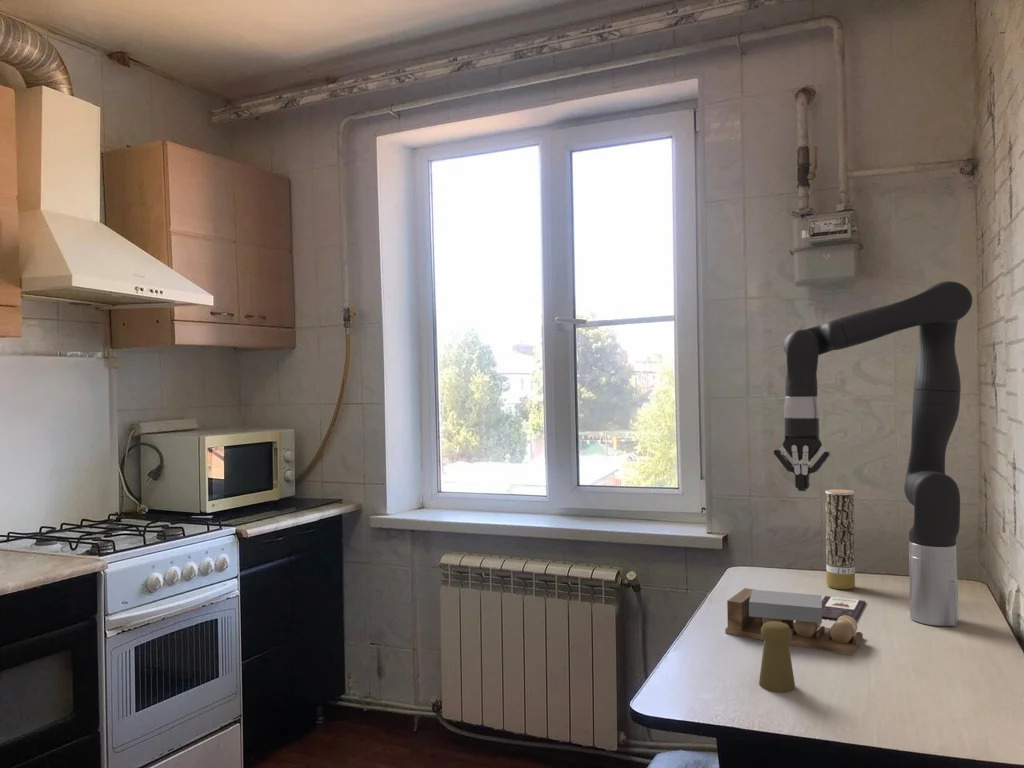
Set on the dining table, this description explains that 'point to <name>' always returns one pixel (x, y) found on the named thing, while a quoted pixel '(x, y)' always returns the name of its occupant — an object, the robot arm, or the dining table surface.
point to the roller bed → (755, 626)
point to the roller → (771, 620)
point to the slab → (786, 606)
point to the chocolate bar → (841, 607)
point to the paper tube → (840, 539)
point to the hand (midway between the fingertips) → (802, 490)
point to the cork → (776, 658)
